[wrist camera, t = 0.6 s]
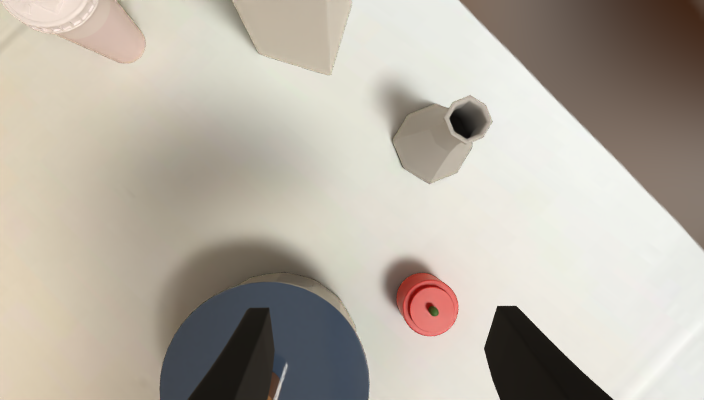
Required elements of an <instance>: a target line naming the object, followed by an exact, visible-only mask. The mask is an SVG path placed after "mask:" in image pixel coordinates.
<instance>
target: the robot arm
mask: <svg viewBox="0 0 704 400" xmlns="http://www.w3.org/2000/svg"><path fill="white" fill-rule="evenodd" d="M484 350H485V354H486V358H487V361H488V365H489V369H490V372H491V376H492V379H493V382H494V385H495V387H496V390H497V393H498V395H499V398H500V400H613V399H612V398H611V397H610V396H609V395H608V394H607V393H605V392H604V391H603V390H602V389H601V388H600V387H599V386H598V385H596V384H595V383H594V382H593V381H592V380H591V379H590V378H589V377H588V376H586V375H585V374H584V373H583V372H582V371H581V370H580V369H579V368H578V367H577V366H576V365H575V364H574V363H573V362H572V361H571V360H569V359H568V358H567V357H566V356H565V355H564V354H563V353H562V352H561V351H560V350H559V349H558V348H557V347H556V346H555V345H554V344H553V343H552V342H551V341H550V340H549V339H548V338H547V337H546V336H545V335H544V334H543V333H542V332H541V331H540V330H539V329H538V328H537V327H536V325H535V324H534V323H533V322H532V321H531V320H530V319H529V318H528V317H527V316H526V315H525V314H524V313H523V312H522V311H521V310H520V309H519V308H518V307H517V306H497V309H496V312H495V315H494V318H493V322H492V325H491V328H490V331H489V335H488V338H487V341H486V344H485V347H484ZM274 353H275V348H274V340H273V332H272V324H271V317H270V309H269V308H249V309H247V310H246V312H245V314H244V316H243V318H242V319H241V321H240V323H239V325H238V326H237V328H236V330H235V331H234V333H233V335H232V336H231V338H230V339H229V341H228V343H227V344H226V346H225V347H224V349H223V350H222V352H221V353H220V355H219V356H218V358H217V359H216V361H215V362H214V364H213V365H212V367H211V368H210V369H209V371H208V372H207V374H206V375H205V376H204V378H203V379H202V380H201V382H200V383H199V384H198V386H197V387H196V388H195V390H194V391H193V392H192V394H191V395H190V397H189V398H188V399H187V400H267V399H268V394H269V390H270V385H271V378H272V371H273V362H274Z"/></svg>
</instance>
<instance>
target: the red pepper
mask: <svg viewBox="0 0 704 400" xmlns="http://www.w3.org/2000/svg"><path fill="white" fill-rule="evenodd" d="M397 306H398V309H399V311H400V313H401V314H402V316H403V318H404V319H405V321H406V323H407V324H408V325H409V327H410V328H411V329H412V330H414V331H415V332H417V333H418V334H421V335H424V336H436V335H440V334H442V333H444V332H446V331H447V330H448V329H449V328H450V327H451V326H452V325H453V324H454V322H455V320H456V318H457V314H458V301H457V298H456V295H455V293H454V292H453V290H452V289H451V288H450V287H449V286H448V285H446V284H445V283H444V282H442V281H441V280H439V279H438V278H436V277H435V276H433V275H431V274H427V273H417V274H413V275H411V276H409V277H408V278H406V279H405V280H404V281H403V282H402V284H401V285H400V287H399V289H398V292H397Z"/></svg>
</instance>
